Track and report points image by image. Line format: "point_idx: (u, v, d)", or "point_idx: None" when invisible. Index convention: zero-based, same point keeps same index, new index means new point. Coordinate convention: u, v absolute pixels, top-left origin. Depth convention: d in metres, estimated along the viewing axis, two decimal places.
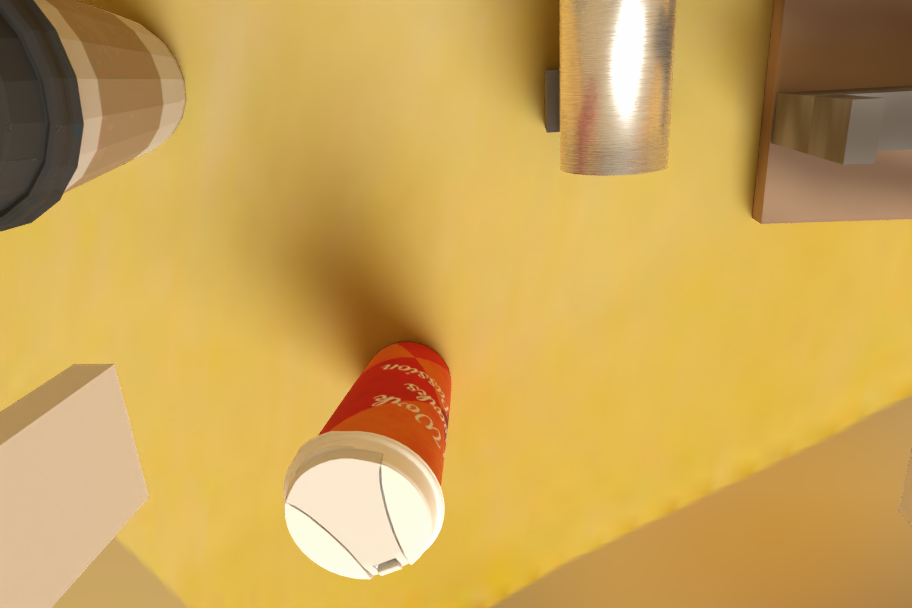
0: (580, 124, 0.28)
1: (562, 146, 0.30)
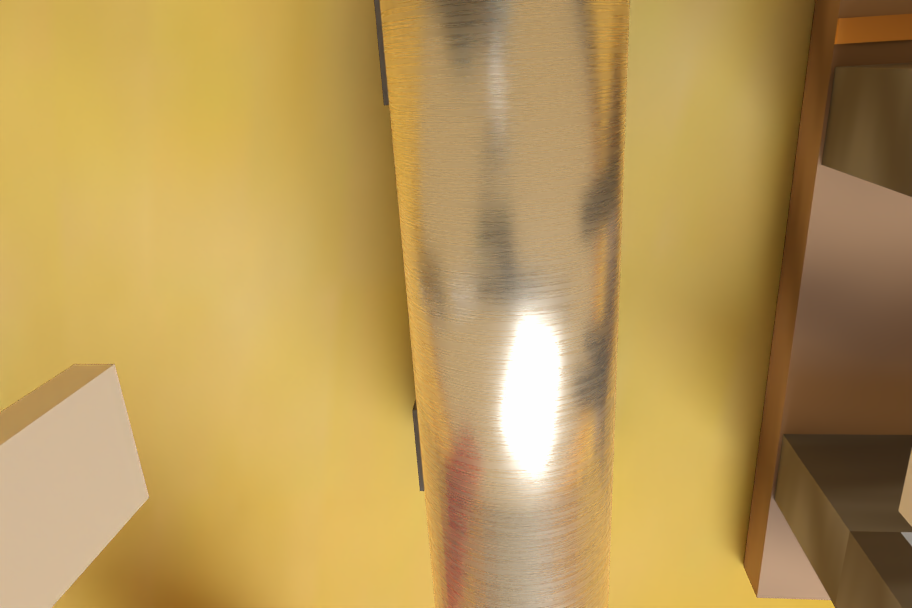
0: (456, 581, 0.16)
1: (433, 578, 0.18)
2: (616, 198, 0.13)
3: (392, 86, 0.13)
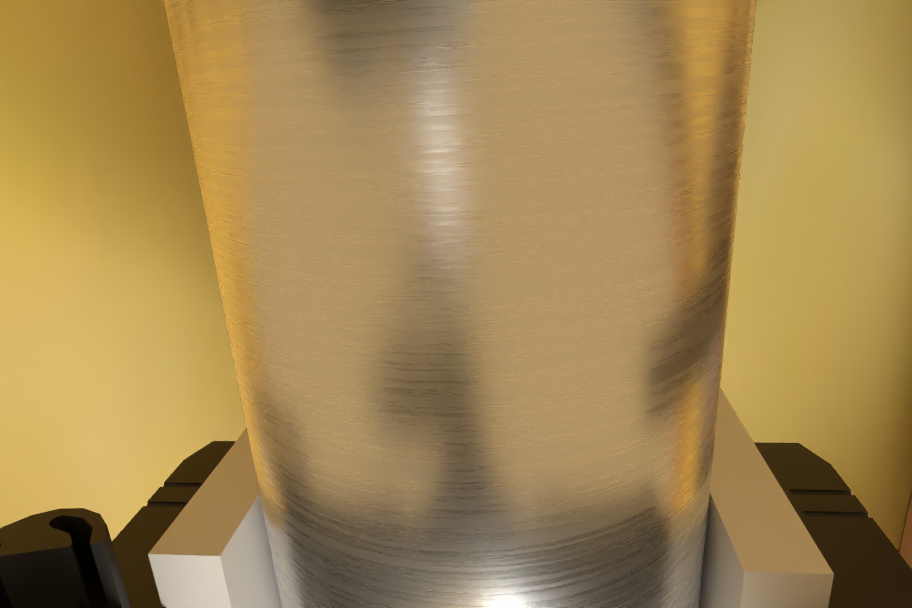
0: None
1: None
2: (711, 415, 0.06)
3: None
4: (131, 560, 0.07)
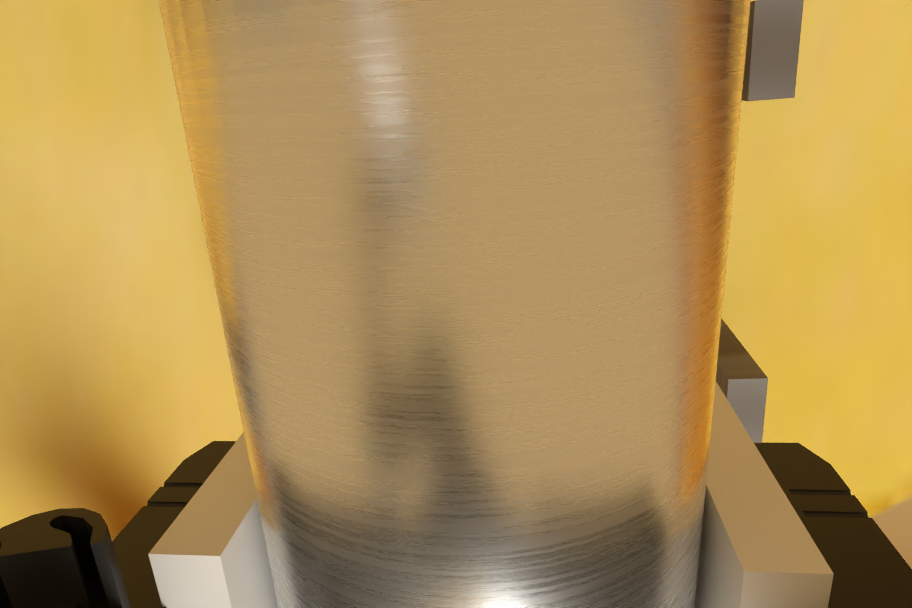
0: None
1: None
2: (705, 419, 0.06)
3: None
4: (131, 560, 0.07)
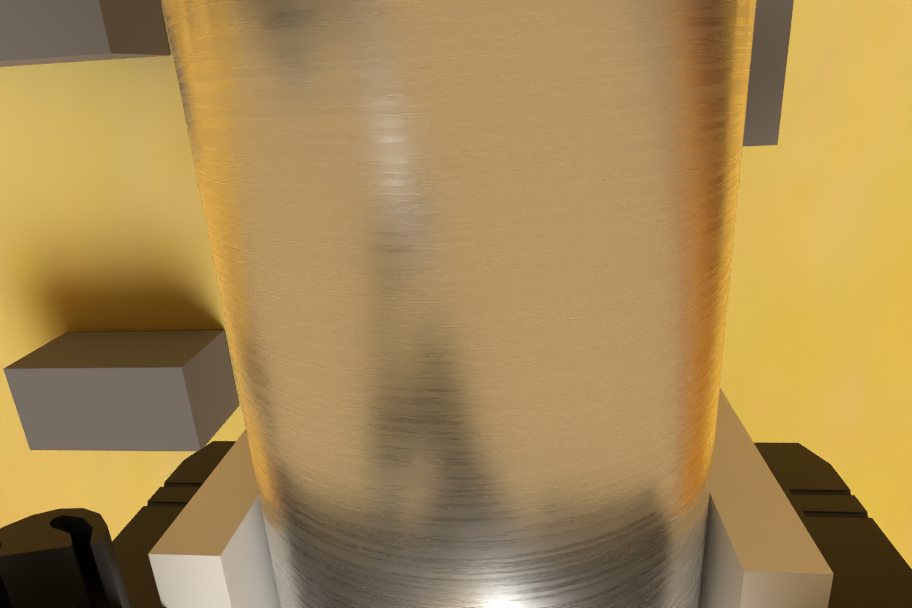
0: None
1: None
2: (710, 422, 0.06)
3: None
4: (131, 560, 0.07)
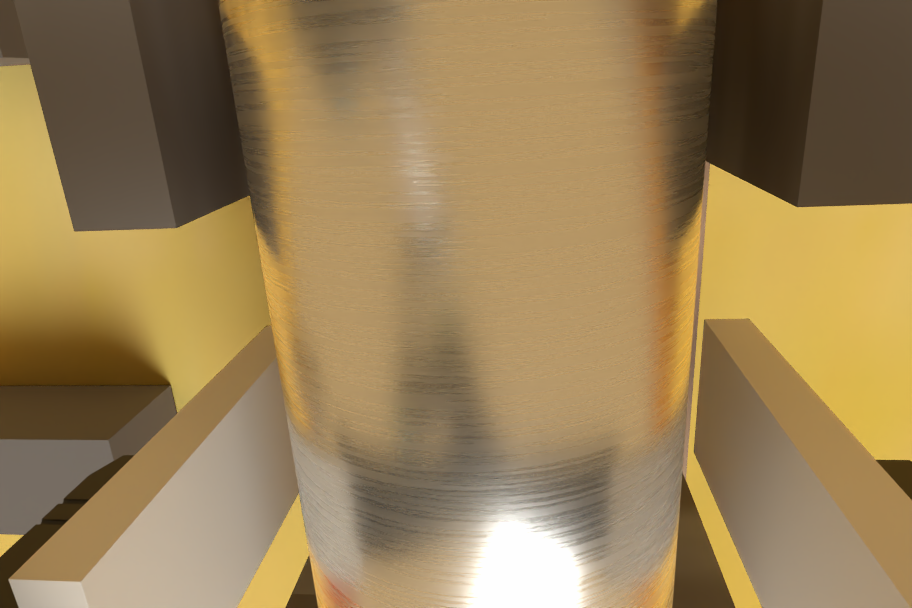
0: None
1: None
2: (682, 365, 0.07)
3: None
4: (9, 583, 0.07)
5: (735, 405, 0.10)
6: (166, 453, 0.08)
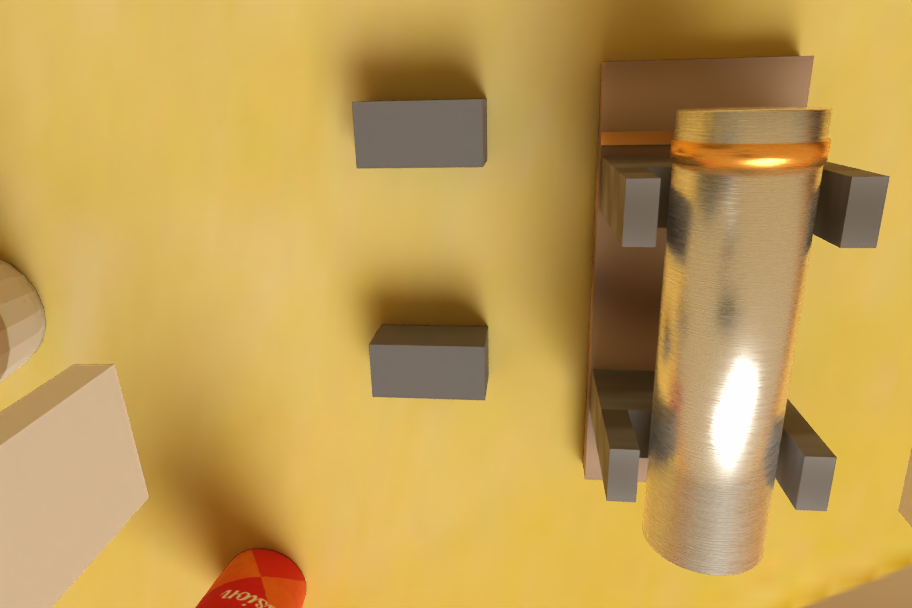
0: (674, 517, 0.26)
1: (649, 519, 0.28)
2: (802, 292, 0.23)
3: (680, 224, 0.23)
4: None
5: None
6: None
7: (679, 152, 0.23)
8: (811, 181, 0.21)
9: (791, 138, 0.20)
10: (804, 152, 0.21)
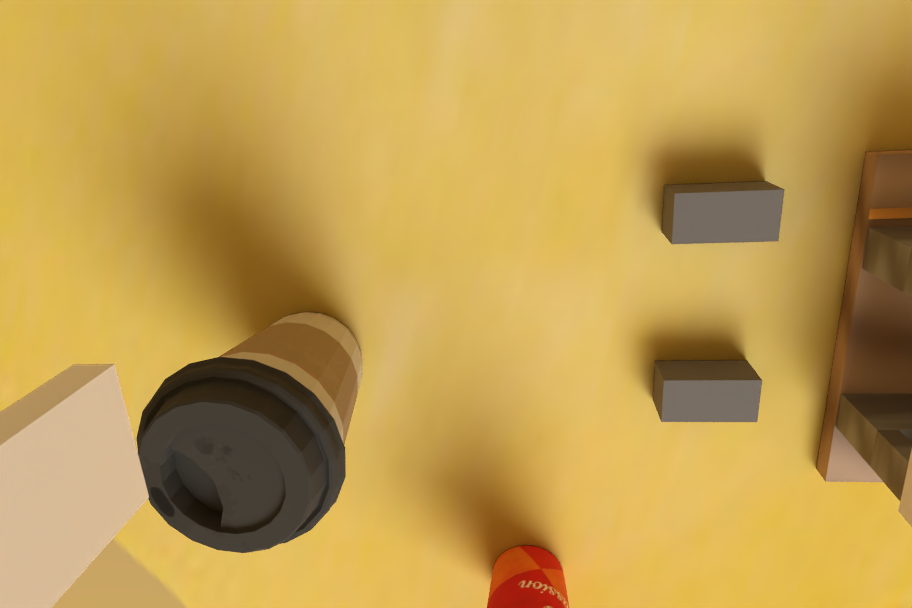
0: None
1: None
2: None
3: None
4: None
5: None
6: None
7: None
8: None
9: None
10: None
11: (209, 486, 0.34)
